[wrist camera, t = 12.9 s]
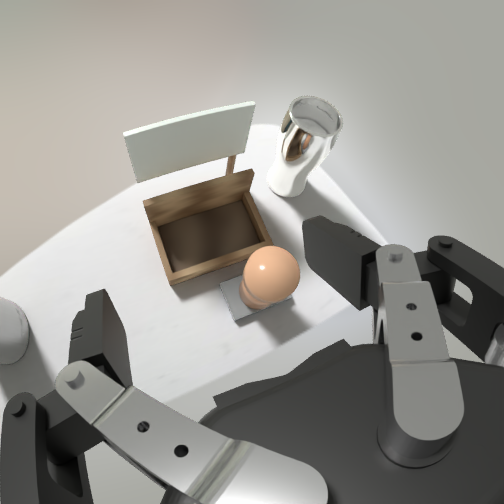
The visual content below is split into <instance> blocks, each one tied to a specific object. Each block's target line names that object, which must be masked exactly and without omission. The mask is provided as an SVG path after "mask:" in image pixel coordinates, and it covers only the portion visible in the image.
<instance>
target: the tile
mask: <svg viewBox="0 0 504 504" xmlns="http://www.w3.org/2000/svg"><path fill="white" fill-rule="evenodd" d="M242 279H243V275H241V276H238V277H235V278H232V279H230V280H227V281H224V282H221V283H220V287H221V290H222V292H223V295H224V297H225V300H226V302H227V305H228V307H229V310H230V312H231V315H232V317H233V320H234V321H235V320H238V319H240V318H243V317H246V316H248V315H251V314H253V313H256V312H258V311H261V310H263V309H259V310H257V309H252V308H250V307H248V306H246V305H245V304H244V303H243V301H242V300H241V298H240V295H239V286H240V283H241V281H242ZM290 298H292V295H289V296H288V297H286V298H285V299H284V300H282V301H280V302H277V303H272V304H271V305H270V306H268V307H271V306H273V305H276V304H278V303H281V302H283V301H286V300H288V299H290ZM268 307H267V308H268ZM264 309H266V308H264Z"/></svg>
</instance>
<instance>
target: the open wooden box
mask: <svg viewBox="0 0 504 504" xmlns="http://www.w3.org/2000/svg"><path fill="white" fill-rule="evenodd" d="M235 159H236V155H233V156H229V157H228V162H227V169H226V175H225V176H223V177H219V178H215V179H212V180H209V181H205V182H202V183H198V184H195V185H192V186H188V187H185V188H182V189H178V190H175V191H172V192H169V193H166V194H162V195H159V196H156V197H153V198H150V199H147V200H144V201H143V204H144V208H145V211H146V214H147V217H148V220H149V223H150V226H151V229H152V233H153V236H154V239H155V242H156V245H157V248H158V251H159V255H160V258H161V261H162V264H163V267H164V270H165V273H166V276H167V278H168V281H169V284H170V286H172V285H175V284H178V283H180V282H183V281H186V280H189V279H192V278H195V277H197V276H200V275H203V274H206V273H209V272H212V271H215V270H217V269H220V268H223V267H226V266H229V265H232V264H234V263H237V262H240V261H243V260H246V259H249V257H250V256H251V255H252V254H253V253H254V252H255V251H256V250H258V249H260V248H262V247H266V246H273V242H272V240H271V238H270V236H269V234H268V231H267V229H266V227H265V225H264V222H263V220H262V218H261V216H260V214H259V211H258V209H257V207H256V205H255V203H254V200H253V198H252V196H251V194H250V192H249V191H250V187H251V184H252V180H253V177H254V172H253V169H248V170H245V171H241V172H237V173H233V169H234V164H235ZM158 229H159V231H158ZM159 232H160V234H159ZM160 235H161V237H160ZM161 238H162V240H161ZM162 241H163V243H162ZM163 244H164V246H163ZM164 247H165V249H164ZM165 250H166V252H165ZM166 253H167V255H166ZM167 256H168V258H167ZM168 259H169V261H168ZM169 262H170V264H169ZM170 265H171V267H170ZM171 268H172V270H171ZM172 271H173V273H172Z"/></svg>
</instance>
